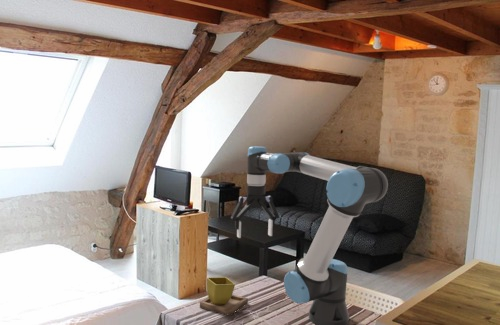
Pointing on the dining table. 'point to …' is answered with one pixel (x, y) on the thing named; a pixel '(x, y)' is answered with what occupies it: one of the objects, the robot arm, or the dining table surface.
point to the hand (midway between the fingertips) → (254, 236)
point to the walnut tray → (225, 305)
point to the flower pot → (219, 289)
